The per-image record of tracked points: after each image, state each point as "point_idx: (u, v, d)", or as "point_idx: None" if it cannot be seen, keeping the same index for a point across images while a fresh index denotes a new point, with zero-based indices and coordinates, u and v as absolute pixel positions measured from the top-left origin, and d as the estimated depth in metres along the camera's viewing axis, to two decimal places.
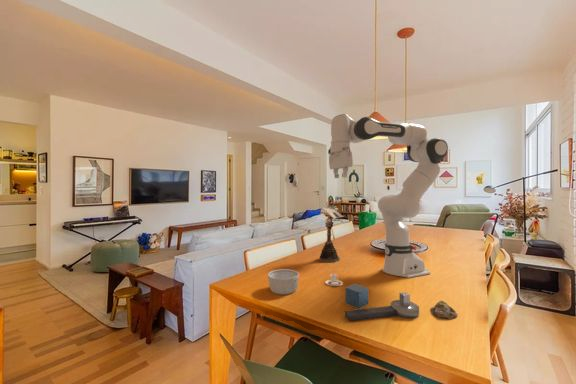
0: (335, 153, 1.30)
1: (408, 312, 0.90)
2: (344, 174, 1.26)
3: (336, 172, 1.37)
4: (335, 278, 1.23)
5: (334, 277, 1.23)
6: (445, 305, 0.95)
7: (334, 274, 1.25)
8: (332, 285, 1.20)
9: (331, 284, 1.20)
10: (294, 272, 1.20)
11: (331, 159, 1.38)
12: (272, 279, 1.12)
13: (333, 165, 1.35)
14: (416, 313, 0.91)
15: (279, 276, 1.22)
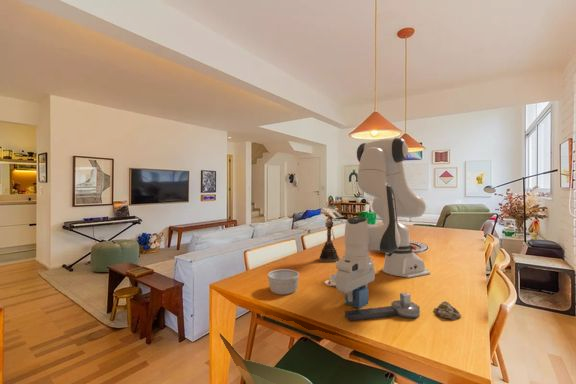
0: (365, 268, 1.00)
1: (408, 312, 0.90)
2: None
3: None
4: (334, 278, 1.23)
5: (333, 277, 1.23)
6: (448, 306, 0.94)
7: (333, 274, 1.25)
8: (331, 285, 1.20)
9: (330, 284, 1.20)
10: (294, 272, 1.20)
11: (348, 278, 0.95)
12: (272, 279, 1.12)
13: (354, 285, 0.98)
14: (417, 313, 0.91)
15: (279, 276, 1.22)
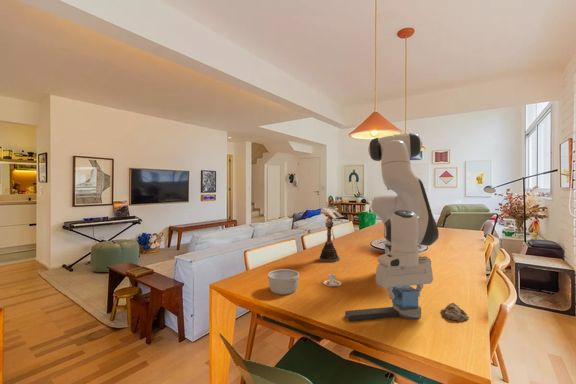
0: (412, 266, 0.92)
1: (410, 313, 0.89)
2: None
3: None
4: (333, 278, 1.22)
5: (332, 277, 1.22)
6: (456, 307, 0.93)
7: (332, 274, 1.25)
8: (330, 285, 1.19)
9: (329, 284, 1.20)
10: (294, 272, 1.20)
11: (388, 273, 0.91)
12: (272, 279, 1.12)
13: (396, 282, 0.92)
14: (418, 315, 0.90)
15: (279, 276, 1.22)
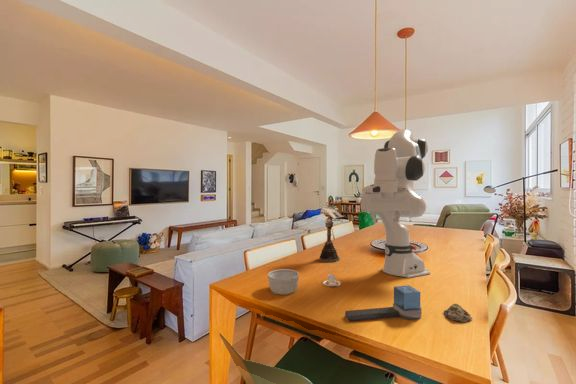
0: (392, 194, 1.06)
1: (410, 313, 0.89)
2: None
3: None
4: (333, 278, 1.22)
5: (332, 277, 1.22)
6: (459, 308, 0.92)
7: (332, 274, 1.25)
8: (329, 285, 1.19)
9: (329, 284, 1.20)
10: (294, 272, 1.20)
11: (370, 199, 1.06)
12: (272, 279, 1.11)
13: (378, 207, 1.07)
14: (418, 315, 0.90)
15: (279, 276, 1.22)
